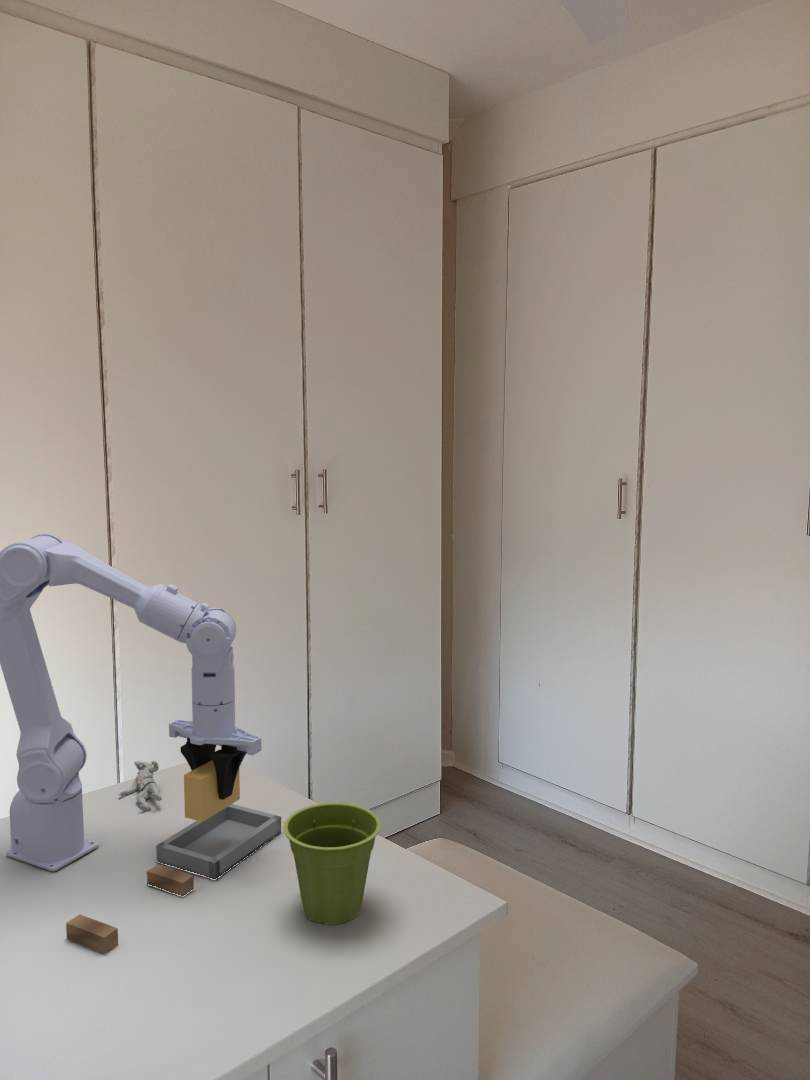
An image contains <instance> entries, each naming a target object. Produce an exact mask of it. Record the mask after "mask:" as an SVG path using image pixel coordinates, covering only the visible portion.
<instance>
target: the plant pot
mask: <svg viewBox="0 0 810 1080" xmlns="http://www.w3.org/2000/svg"><path fill="white" fill-rule="evenodd" d="M381 826H382V822H381V819H380V817H379V816H378V815H377V814H376V813H375V812H373V811H372V810H371V809H369V808H366V807H363V806H361V805H357V804H353V803H347V802H324V803H323V802H322V803H316V804H312V805H311V804H310V805H307V806H304V807H302V808H300V809H297V810H296V811H294V812H293V813H291V814H290V815H289V816H288V817H287V818H286V819H285V821H284V823H283V826H282V827H283V828H282V829H283V833H284V835H285V837H286V838H287V839H288V842H289V847H290V850H291V852H292V854H293V859H294V864H295V871H296V876H297V880H298V887H299V892H300V898H301V899H300V900H301V903H302V904H301V905H302V909H303V913H304V915H305V916H306V917H307V918H308V919H309V920H311V921H313V922H315V923H317V922H322V923H325V924H327V925H339V924H343V923H347V922H349V921H351V920H353V919H354V918H356V917H357V916H358V915H359V912H360V910H361V909H362V906H363V900H364V894H365V888H366V883H367V877H368V871H369V865H370V859H371V856H372V855H371V854H372V851H373V849H374V846H375V841H376V837H377V835H379V833H380V831H381V828H382V827H381Z"/></svg>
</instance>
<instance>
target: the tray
mask: <svg viewBox="0 0 810 1080" xmlns="http://www.w3.org/2000/svg"><path fill="white" fill-rule="evenodd" d="M280 834H282V816H280V815H276V814H273V813H268V812H264V811H261V810H256V809H253V808H249V807H245V806H241V805H237V804H234V803H233V804H231V805H229V806H228V807H226V808H225V809H223V810H221V811H220V812H218V813H216V814H215V815H213V816H212V817H210V818H208V819H207V820H205V821H203V822H200V821H196V820H194V822H192V823H191V824H189V825H187V826H186V827H184V828H182V829H181V830H179V831H177V832H176V833H174V834H172V835H171V836H169V837H168V838H166V839H165V840H163V841H161V842H159V843H158V844H156V845H155V846H156V847H155V848H156V862H157V861H158V862H160V863H163V864H167V865H170V866H174V867H177V868H180V869H183V870H187V871H190V872H194V873H197V874H200V875H204V876H206V877H209V878H212V879H216V878H218V877H219V876H221V875H222V874H223V873H224V872H226V871H228V870H229V869H230V868H232V867H233V866H234V865H236V864H237V863H239V862H240V861H242V860H243V859H244V858H246V857H247V856H249V855H250V854H252V853H253V852H254V851H255V850H257V849H258V848H260V847H261V846H263V845H264V844H265V843H267V842H268V841H269V842H271V841H272V840H274V839H275V838H277V837H278V836H279V835H280ZM277 835H278V836H277ZM274 837H275V838H274ZM273 838H274V839H273ZM270 840H271V841H270ZM269 842H268V843H269ZM268 843H267V844H268ZM265 845H266V844H265ZM265 845H264V846H265ZM264 846H263V847H264ZM261 848H262V847H261ZM261 848H260V849H261ZM258 850H259V849H258ZM258 850H257V851H258ZM254 853H255V852H254ZM254 853H253V854H254ZM253 854H252V855H253ZM250 856H251V855H250ZM250 856H249V857H250ZM247 858H248V857H247ZM247 858H246V859H247ZM243 861H244V860H243ZM243 861H242V862H243ZM160 863H159V864H160ZM163 864H162V865H163ZM239 864H240V863H239ZM236 866H237V865H236ZM232 869H233V868H232ZM228 872H229V871H228ZM221 877H222V876H221Z"/></svg>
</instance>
